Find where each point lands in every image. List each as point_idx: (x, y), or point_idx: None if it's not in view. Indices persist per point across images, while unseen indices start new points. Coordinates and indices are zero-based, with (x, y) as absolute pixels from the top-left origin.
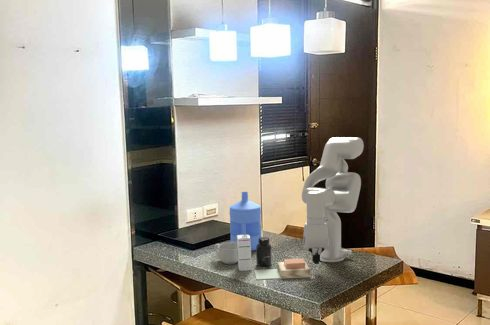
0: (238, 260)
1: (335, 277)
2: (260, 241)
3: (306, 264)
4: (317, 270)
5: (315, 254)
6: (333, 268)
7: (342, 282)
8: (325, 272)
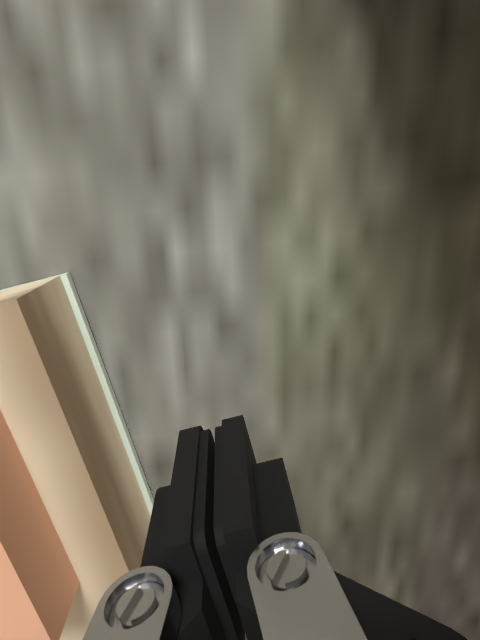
0: None
1: (430, 524)
2: None
3: (75, 466)
4: (236, 337)
5: None
6: (448, 237)
7: (476, 626)
8: (334, 395)
